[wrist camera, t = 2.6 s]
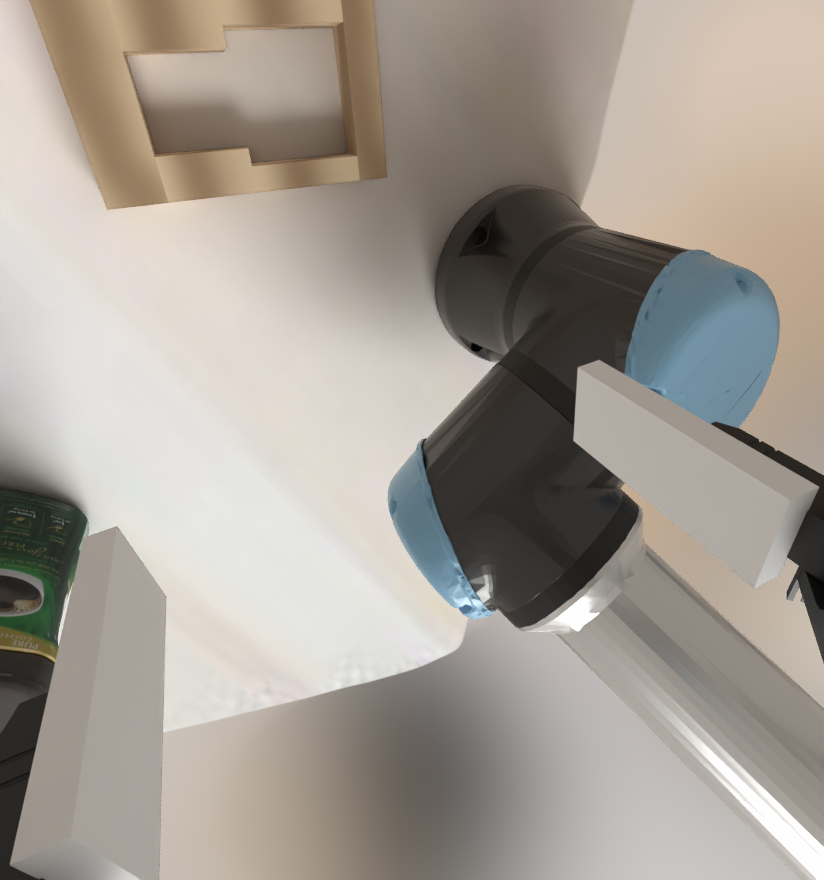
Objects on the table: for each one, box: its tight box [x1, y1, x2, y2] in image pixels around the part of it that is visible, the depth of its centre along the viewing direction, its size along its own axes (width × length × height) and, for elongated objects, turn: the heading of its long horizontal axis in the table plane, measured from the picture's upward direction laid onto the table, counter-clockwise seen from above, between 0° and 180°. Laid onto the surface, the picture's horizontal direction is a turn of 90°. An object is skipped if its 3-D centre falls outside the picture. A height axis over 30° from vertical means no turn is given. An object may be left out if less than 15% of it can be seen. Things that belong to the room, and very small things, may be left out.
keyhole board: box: [29, 0, 387, 210], centre depth 28 cm, size 18×19×2 cm
